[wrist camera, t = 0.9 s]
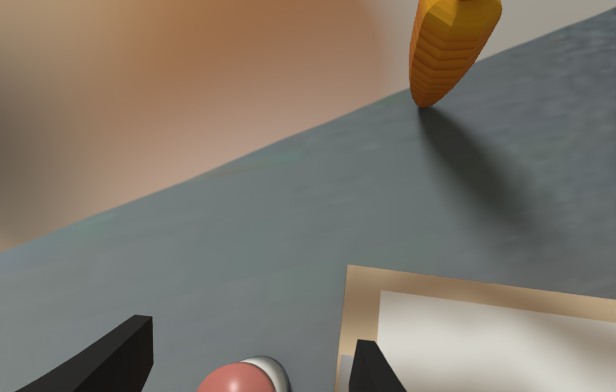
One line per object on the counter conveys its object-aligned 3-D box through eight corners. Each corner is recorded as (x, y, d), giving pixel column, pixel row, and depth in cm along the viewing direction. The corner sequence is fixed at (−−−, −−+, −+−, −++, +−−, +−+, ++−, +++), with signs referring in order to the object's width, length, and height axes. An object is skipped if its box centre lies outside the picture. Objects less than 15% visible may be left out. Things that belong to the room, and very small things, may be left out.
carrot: (457, 92, 31) (557, -103, 17) (440, 137, 29) (535, -36, 16) (403, 76, 32) (456, -120, 18) (385, 118, 31) (427, -59, 17)
